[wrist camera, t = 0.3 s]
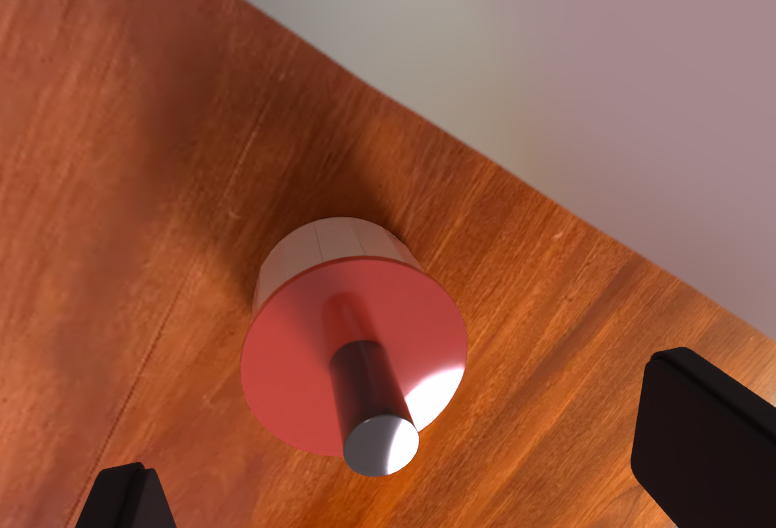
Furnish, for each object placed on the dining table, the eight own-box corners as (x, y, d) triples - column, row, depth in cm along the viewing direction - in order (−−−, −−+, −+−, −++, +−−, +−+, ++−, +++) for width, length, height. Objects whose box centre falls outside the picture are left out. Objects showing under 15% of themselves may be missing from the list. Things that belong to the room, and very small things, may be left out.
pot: (240, 229, 28) (229, 281, 21) (414, 206, 30) (455, 248, 23) (270, 377, 32) (268, 460, 25) (421, 349, 34) (457, 421, 27)
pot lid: (219, 269, 22) (197, 349, 15) (458, 235, 23) (522, 294, 17) (262, 459, 26) (259, 580, 20) (461, 418, 28) (512, 516, 22)
